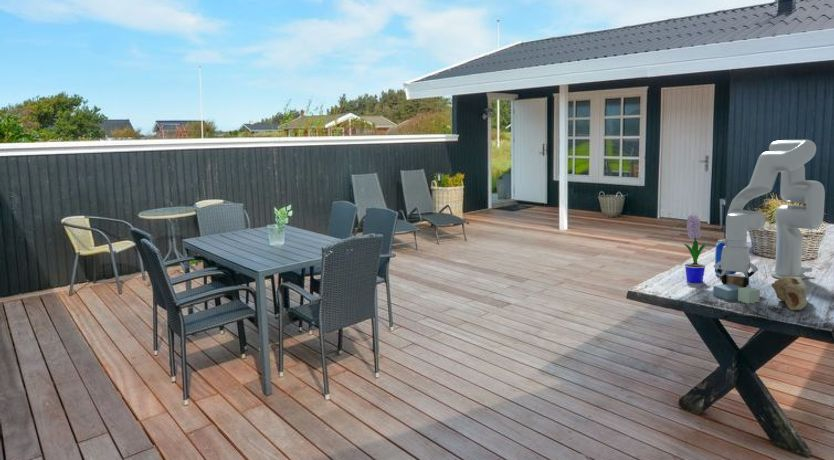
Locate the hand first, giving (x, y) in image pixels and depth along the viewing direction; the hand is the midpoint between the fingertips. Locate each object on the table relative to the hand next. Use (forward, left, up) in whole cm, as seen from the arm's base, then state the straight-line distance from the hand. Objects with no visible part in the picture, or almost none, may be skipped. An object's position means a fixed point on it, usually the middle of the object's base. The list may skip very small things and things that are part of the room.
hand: (735, 285), depth 233 cm
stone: (-7, +23, -2) cm, 24 cm away
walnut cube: (0, 0, -1) cm, 1 cm away
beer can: (-8, -23, -2) cm, 24 cm away
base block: (+8, +9, -2) cm, 12 cm away
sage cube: (+5, +17, -2) cm, 18 cm away
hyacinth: (+9, -15, -2) cm, 17 cm away
